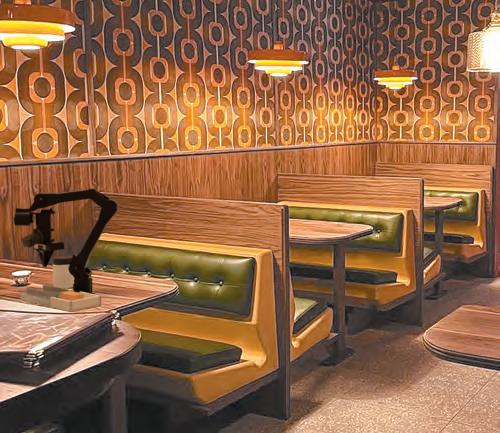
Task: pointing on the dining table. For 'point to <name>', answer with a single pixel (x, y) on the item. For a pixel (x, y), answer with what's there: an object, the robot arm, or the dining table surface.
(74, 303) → the chip tray
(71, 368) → the dining table surface
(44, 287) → the slot plate
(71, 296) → the orange cube
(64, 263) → the jar
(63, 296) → the orange rounded block
